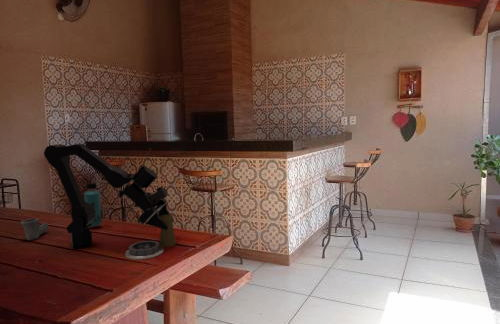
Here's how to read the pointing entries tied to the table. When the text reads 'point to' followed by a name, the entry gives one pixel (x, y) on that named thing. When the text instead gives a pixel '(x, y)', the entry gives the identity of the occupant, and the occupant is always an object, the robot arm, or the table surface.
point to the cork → (167, 232)
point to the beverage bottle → (94, 202)
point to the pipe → (33, 228)
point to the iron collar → (144, 250)
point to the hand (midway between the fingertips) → (170, 225)
